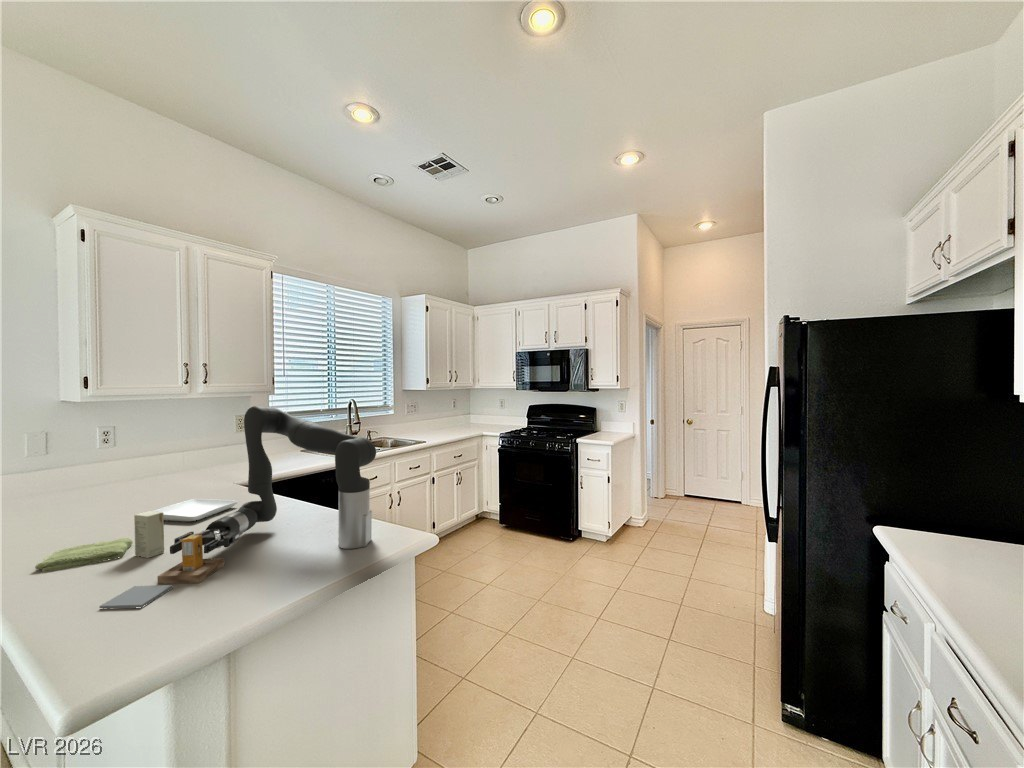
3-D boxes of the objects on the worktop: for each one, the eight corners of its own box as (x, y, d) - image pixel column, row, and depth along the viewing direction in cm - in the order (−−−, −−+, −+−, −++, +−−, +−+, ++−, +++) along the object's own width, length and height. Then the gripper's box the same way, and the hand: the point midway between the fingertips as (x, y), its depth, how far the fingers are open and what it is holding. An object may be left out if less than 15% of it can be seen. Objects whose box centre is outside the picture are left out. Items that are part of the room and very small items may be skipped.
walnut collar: (224, 565, 113) (224, 558, 113) (198, 582, 103) (198, 575, 103) (186, 566, 113) (186, 559, 113) (157, 584, 103) (157, 576, 103)
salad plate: (240, 507, 168) (240, 499, 168) (194, 525, 147) (194, 515, 147) (193, 506, 170) (193, 497, 170) (142, 523, 149) (142, 513, 149)
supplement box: (190, 571, 110) (190, 534, 110) (203, 571, 110) (203, 534, 110) (181, 577, 106) (181, 539, 106) (195, 577, 106) (195, 538, 107)
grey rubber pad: (172, 588, 101) (172, 585, 101) (141, 608, 92) (141, 604, 92) (134, 589, 100) (134, 586, 100) (99, 609, 91) (99, 606, 91)
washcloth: (52, 558, 119) (52, 547, 119) (133, 545, 129) (133, 535, 129) (32, 576, 108) (32, 563, 108) (123, 560, 118) (123, 549, 118)
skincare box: (164, 552, 122) (165, 512, 122) (147, 558, 118) (147, 516, 118) (150, 550, 124) (150, 509, 124) (133, 555, 120) (133, 514, 120)
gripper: (203, 516, 122) (159, 536, 106) (252, 515, 123) (216, 535, 107) (203, 541, 122) (159, 565, 106) (252, 540, 123) (216, 563, 107)
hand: (188, 550), depth 107 cm, fingers open, 8 cm apart
